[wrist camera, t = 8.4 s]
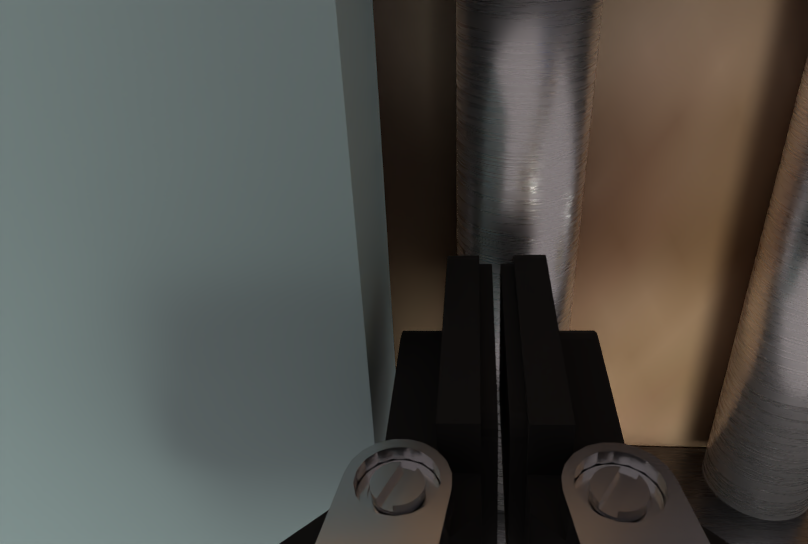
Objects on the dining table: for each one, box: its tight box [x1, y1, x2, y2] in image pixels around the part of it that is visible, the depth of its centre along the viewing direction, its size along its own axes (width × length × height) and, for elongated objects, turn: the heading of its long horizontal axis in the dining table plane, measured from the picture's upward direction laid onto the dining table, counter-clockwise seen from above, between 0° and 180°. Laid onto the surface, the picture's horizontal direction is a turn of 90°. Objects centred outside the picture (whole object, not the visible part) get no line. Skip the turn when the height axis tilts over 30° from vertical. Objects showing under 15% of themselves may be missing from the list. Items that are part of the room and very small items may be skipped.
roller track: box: [456, 0, 808, 544], centre depth 13 cm, size 15×38×5 cm, turn 92°
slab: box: [0, 0, 396, 544], centre depth 12 cm, size 12×12×3 cm
